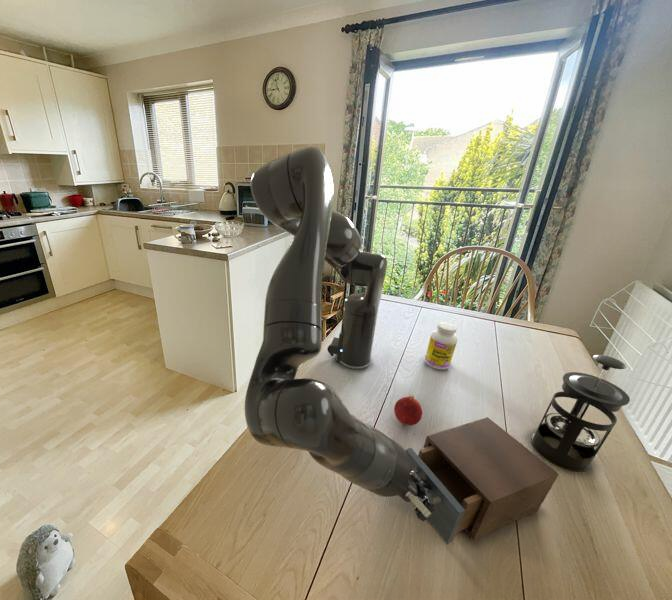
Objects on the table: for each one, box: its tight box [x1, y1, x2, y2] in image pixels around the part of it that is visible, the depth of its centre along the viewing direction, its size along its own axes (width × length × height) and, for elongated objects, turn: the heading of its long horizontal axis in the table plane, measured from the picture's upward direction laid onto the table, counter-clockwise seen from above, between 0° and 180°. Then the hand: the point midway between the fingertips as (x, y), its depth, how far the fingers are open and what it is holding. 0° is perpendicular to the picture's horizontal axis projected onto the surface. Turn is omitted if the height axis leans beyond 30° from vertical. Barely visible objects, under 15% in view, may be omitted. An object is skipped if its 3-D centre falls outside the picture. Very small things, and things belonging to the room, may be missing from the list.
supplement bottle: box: [424, 321, 458, 370], centre depth 89 cm, size 7×7×13 cm
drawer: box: [404, 445, 484, 545], centre depth 52 cm, size 18×11×8 cm, turn 108°
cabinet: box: [423, 416, 560, 541], centre depth 55 cm, size 15×13×10 cm
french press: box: [530, 354, 631, 473], centre depth 60 cm, size 12×9×23 cm
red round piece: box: [393, 394, 424, 426], centre depth 69 cm, size 6×6×8 cm
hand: (423, 489), depth 50 cm, fingers closed
